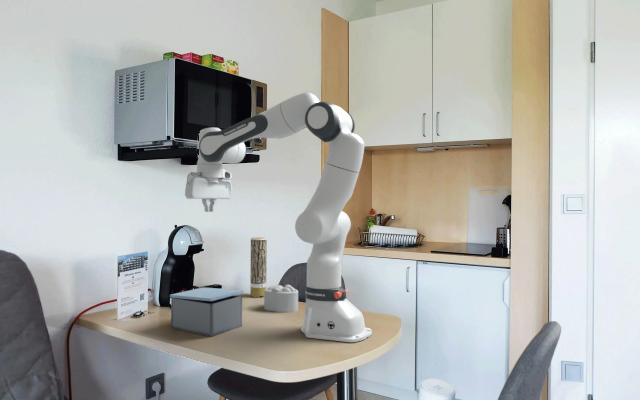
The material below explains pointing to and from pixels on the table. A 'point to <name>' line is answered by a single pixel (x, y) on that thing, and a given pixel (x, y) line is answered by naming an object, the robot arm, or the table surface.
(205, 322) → the box
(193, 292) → the lid
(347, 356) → the table surface
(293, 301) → the lumpy-topped squat cylinder
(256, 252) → the paper tube
